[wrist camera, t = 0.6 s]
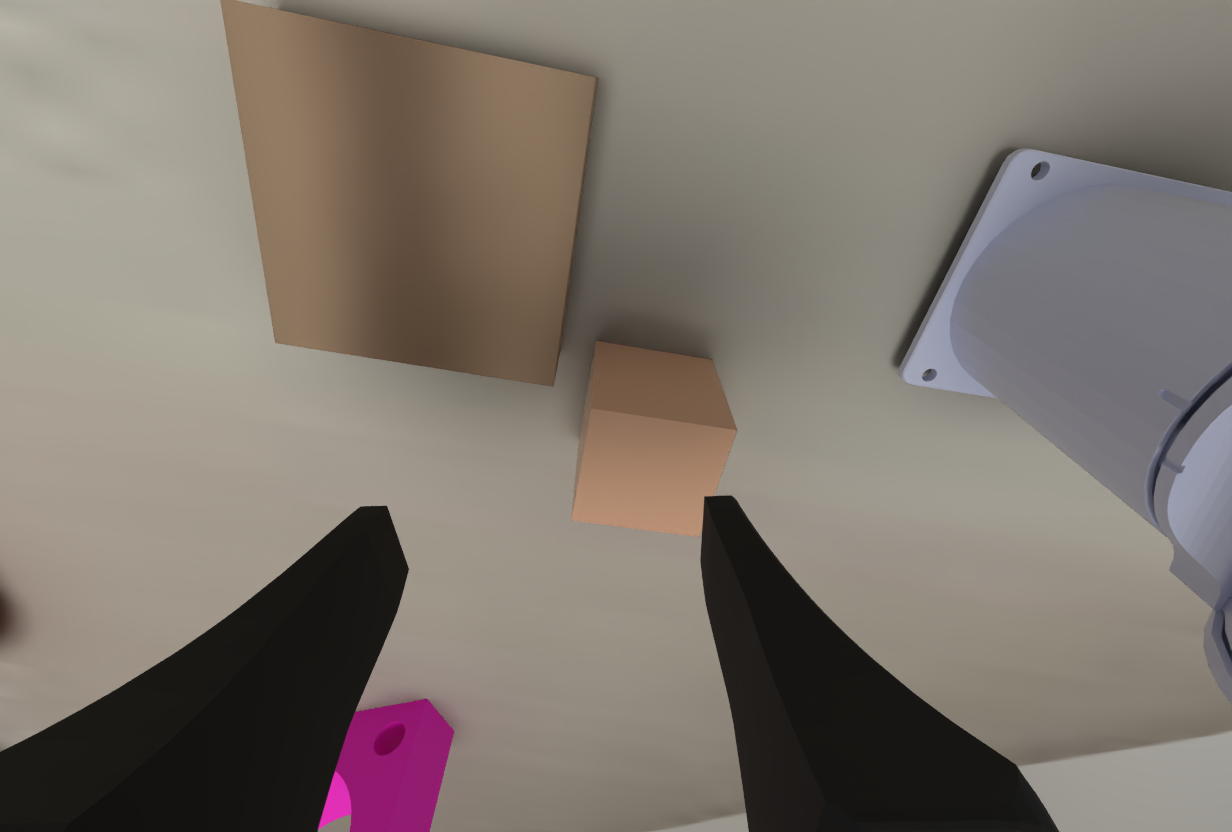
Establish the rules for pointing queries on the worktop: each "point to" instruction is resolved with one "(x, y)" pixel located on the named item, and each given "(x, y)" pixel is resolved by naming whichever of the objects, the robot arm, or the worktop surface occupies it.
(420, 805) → the toy block
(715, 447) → the terracotta block
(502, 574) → the worktop surface
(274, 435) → the worktop surface
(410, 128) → the walnut block
